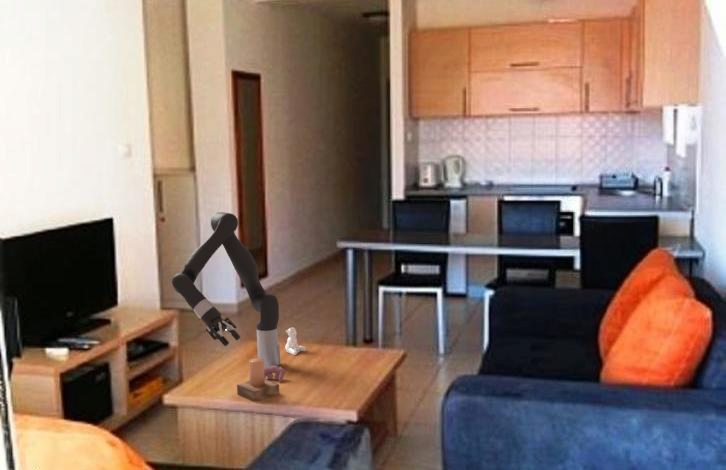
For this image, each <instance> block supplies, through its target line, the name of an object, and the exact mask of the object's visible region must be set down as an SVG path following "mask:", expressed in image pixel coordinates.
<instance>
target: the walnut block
mask: <svg viewBox="0 0 726 470" xmlns="http://www.w3.org/2000/svg"><path fill="white" fill-rule="evenodd" d="M236 390H237V391H236V392H237V395H238V396H241V397H243V398H245V399H247V400H250V401H253V402H258V401H261V400H263V399H267V398H271V397H274V396H276V395H277V396H278V395H280V384H279V383H277V382H275V381H271V380H270V379H269V380H268V379H267V378H265V385H263V386H260V387H253V386H251V385H250V380H249V381H245V382H242V383H239V384H236Z"/></svg>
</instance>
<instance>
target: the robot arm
mask: <svg viewBox="0 0 726 470" xmlns="http://www.w3.org/2000/svg"><path fill="white" fill-rule="evenodd" d="M238 226H239V219H238V217H237V216H236V215H235V214H234V213H232V212H231V213H229V212H224V211H223V212H222V211H221V212H216V213H213V215H212V216H211V218H210V227H211V230H212V231H213V233H212V234H211V235H210V236H209V237H208V239H206V240H205V241H204V242H203V243H202V244H200V245H199V246H198V247H197V248H196V249H195V250H194V251H193V252H192V254H191V255H190V256H189V258H188V260H186V262H185V264H184V267H183V270H182V272H181V273H180V272H179V273H176V274H174V275H173V277H172V278H171V284H172V287H173V289H174V291H175V292H176V293H177V294H180V295H181V297H183V299H184V300H185V302H186V304H187V305H188V306H189V307H190V308H191V309H192V311H194V313H195V314H196V316H197V317H198V318H199V319H200V320H201V321H202V323H203V324H204V325H205V326H206V329H205V331H206V332H207V333H208V335H209V336H210V337H211V338H212V339H213V340H214V341H216V340H218V341H220V343H221V344H222V345H223V346H224V347H227V346H228V345H229V344H230V341H229V340H228V339H227V338H226V337H225V336H224V335H223V333H224V332H225V333H229V334H230V335H231V336H232V337H233V338H234V340H236V341H239V339H240V338H241V335H240V334H239V333H238V331H236V329H237V325H235V323H234V322H233V321H232V320H231V319H230V318H229V317H227V316H226V317H225V318H224V319H223V318H222V313H221V312H220V311H219V310H218V309H217V308H216V306H215V305H214V304H213V303H212V302H211V301H210V300H208V299H207V297H205V295H204V294H203V293H202V292H201V291H200V290H199V289H198V288H197V286H196V285H195V281H196V280H197V278H198V276H199V274H200V273H201V272H202V271H203V269H204V268H205V266H206V265H207V264H208V262H209V260H210V259H211V258H212V257H213V255H215V253H216V252H217V251H218V249H219V248H220V247H221V246H223V248H224V250H225V252H226V253H227V256H228V258H229V260H230V263H232V265H233V268H234V270H235V272H236V274H237V276H238V277H239V279H240V281H241V283H242V284H243V286H244V288H245V290H246V293H247V295H248V297H249V300H250V303H251V305H252V307H253V309H254V311H256V312H258V313H260V318H259V321H257V322H256V325H255V326H256V327H255V328H256V343H257V345H256V346H257V358H261V359H264V368H266V367H268V366H281V347H280V344H279V341H278V338H279V337H278V323H279V320H280V319H279V318H280V315H279V314H280V313H279V311H280V309H279V308H280V305H279V300H278V298H277V297H276V296H275V295H273V294H272V293H267V292H266V290H265V289H264V287H263V286H262V283H261V281H260V279H259V269H258V265H257V262H256V261H255V259H254V257H253V255H252V253H251V251H249V249H248V248H247V247H246V246H245V244H243V243H242V242H241V240H240V239H239V238H238V236H237V235H236V233H235V232H236V231H237V229H238Z"/></svg>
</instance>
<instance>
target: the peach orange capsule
mask: <svg viewBox="0 0 726 470" xmlns="http://www.w3.org/2000/svg"><path fill="white" fill-rule="evenodd" d="M248 365H249V367H248V368H249V381H250V385H251V386H253V387H260V386H263V385H265V379H266V377H265V376H264V359H261V358H258V357H257V358H256V357H255V358H251V359H249V362H248Z"/></svg>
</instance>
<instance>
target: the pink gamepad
mask: <svg viewBox="0 0 726 470" xmlns="http://www.w3.org/2000/svg"><path fill="white" fill-rule="evenodd" d="M285 373H286V370H285V368H283V367H281V366H280V365H278V366H268V367H266V368H264V376H265V378H266V377H267V380H268V379H269V380H272V379H274V380H276V381H278V383H282V381H283V380H284V378H285V377H284V376H285Z"/></svg>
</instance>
